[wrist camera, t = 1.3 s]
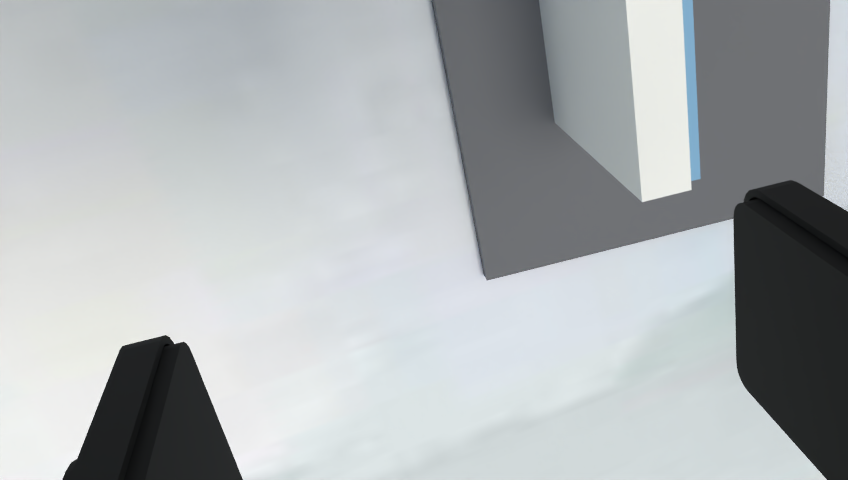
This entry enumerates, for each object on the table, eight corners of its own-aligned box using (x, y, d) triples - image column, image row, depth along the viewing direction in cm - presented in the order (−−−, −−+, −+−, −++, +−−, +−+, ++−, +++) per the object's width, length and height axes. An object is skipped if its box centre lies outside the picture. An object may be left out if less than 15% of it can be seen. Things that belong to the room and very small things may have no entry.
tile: (524, -112, 28) (616, -113, 20) (577, -124, 28) (690, -130, 20) (554, 122, 32) (642, 202, 24) (600, 111, 32) (703, 186, 24)
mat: (412, -103, 28) (414, -102, 27) (826, -196, 29) (836, -198, 28) (484, 274, 35) (487, 280, 34) (815, 191, 36) (823, 195, 35)
